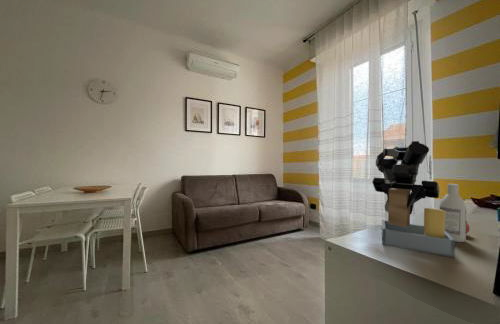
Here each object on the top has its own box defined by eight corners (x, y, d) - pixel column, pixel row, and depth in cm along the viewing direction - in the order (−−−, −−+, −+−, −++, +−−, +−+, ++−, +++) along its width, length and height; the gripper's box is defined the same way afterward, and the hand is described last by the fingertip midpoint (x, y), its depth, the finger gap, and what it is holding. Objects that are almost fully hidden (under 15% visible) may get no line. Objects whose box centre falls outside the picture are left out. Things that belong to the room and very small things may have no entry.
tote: (382, 244, 69) (382, 229, 69) (381, 232, 81) (382, 220, 81) (454, 257, 60) (454, 240, 60) (442, 242, 72) (442, 228, 72)
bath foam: (450, 235, 79) (451, 183, 79) (471, 242, 72) (472, 185, 72) (433, 235, 79) (435, 183, 79) (453, 242, 72) (454, 185, 72)
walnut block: (392, 221, 75) (393, 188, 75) (409, 224, 71) (410, 189, 71) (388, 223, 72) (388, 189, 71) (405, 227, 68) (406, 190, 68)
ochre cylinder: (435, 251, 63) (435, 211, 63) (419, 244, 68) (420, 208, 68) (449, 250, 64) (449, 211, 64) (432, 244, 68) (433, 208, 68)
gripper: (374, 156, 81) (362, 187, 74) (438, 156, 67) (431, 194, 59) (381, 176, 86) (370, 206, 79) (442, 179, 72) (435, 216, 65)
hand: (398, 205), depth 70 cm, fingers closed on walnut block, 5 cm apart
